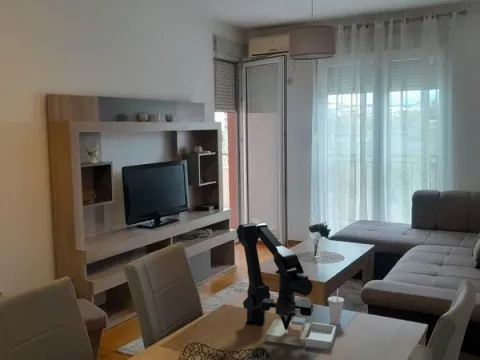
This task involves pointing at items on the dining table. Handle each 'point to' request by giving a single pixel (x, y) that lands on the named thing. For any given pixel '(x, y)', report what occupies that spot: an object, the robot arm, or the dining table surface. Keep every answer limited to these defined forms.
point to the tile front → (295, 330)
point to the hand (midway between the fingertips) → (286, 329)
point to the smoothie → (335, 308)
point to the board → (286, 334)
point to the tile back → (299, 321)
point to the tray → (321, 336)
